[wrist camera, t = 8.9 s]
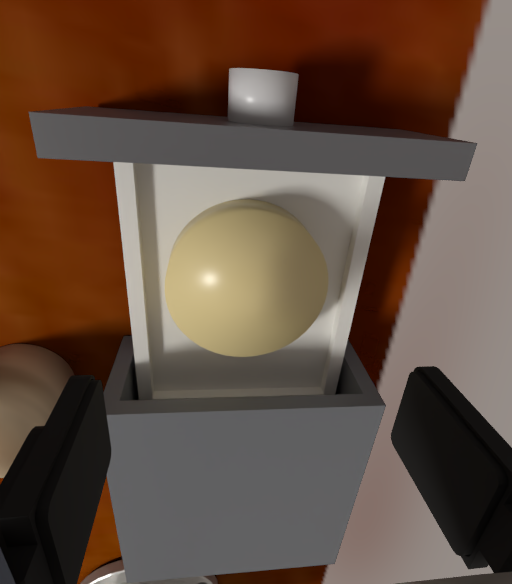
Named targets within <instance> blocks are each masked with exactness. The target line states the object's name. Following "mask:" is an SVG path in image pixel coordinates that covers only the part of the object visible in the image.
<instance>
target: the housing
mask: <svg viewBox="0 0 512 584" xmlns="http://www.w3.org/2000/svg"><path fill="white" fill-rule="evenodd" d="M103 394H104V401H105V408H106V415H107V421H108V428H109V435H110V442H111V460H110V464H109V468H108V471H107V480H108V485H109V490H110V496H111V501H112V506H113V512H114V517H115V522H116V528H117V533H118V538H119V544H120V549H121V554H122V560H123V565H124V570H125V576H126V581H127V583H134V582H144V581H155V580H166V579H177V578H188V577H198V576H209V575H220V574H231V573H241V572H252V571H263V570H274V569H285V568H295V567H306V566H317V565H328V564H335V561H336V558H337V555H338V551H339V549H340V545H341V542H342V539H343V536H344V533H345V530H346V527H347V524H348V521H349V518H350V515H351V512H352V508H353V505H354V502H355V499H356V496H357V493H358V490H359V487H360V484H361V481H362V478H363V475H364V471H365V468H366V465H367V462H368V459H369V456H370V453H371V450H372V447H373V444H374V440H375V438H376V434H377V431H378V428H379V425H380V422H381V419H382V416H383V413H384V410H385V407H386V405H385V403H384V402H383V400H382V398H381V396H380V394H379V393H378V391H377V389H376V387H375V386H374V384H373V382H372V380H371V379H370V377H369V375H368V373H367V372H366V370H365V368H364V366H363V364H362V363H361V361H360V359H359V357H358V356H357V354H356V352H355V350H354V349H353V347H352V345H351V343H350V342H349V340H348V341H347V345H346V350H345V354H344V358H343V363H342V367H341V371H340V376H339V380H338V384H337V389H336V393H335V395H305V396H270V397H236V398H201V399H166V400H139V396H138V387H137V377H136V368H135V359H134V349H133V340H132V336H123V339H122V342H121V345H120V348H119V350H118V353H117V356H116V359H115V362H114V364H113V367H112V370H111V373H110V376H109V379H108V381H107V384H106V387H105V390H104V393H103Z"/></svg>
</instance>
